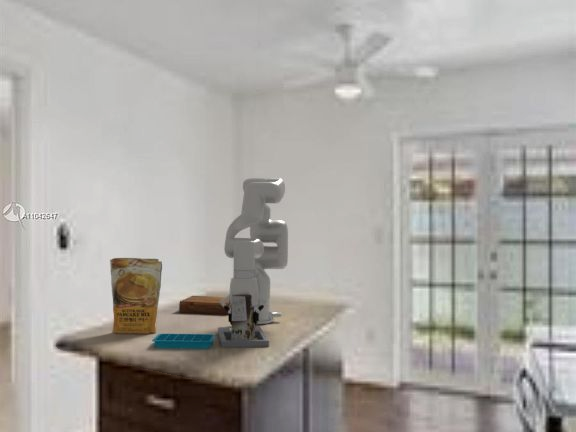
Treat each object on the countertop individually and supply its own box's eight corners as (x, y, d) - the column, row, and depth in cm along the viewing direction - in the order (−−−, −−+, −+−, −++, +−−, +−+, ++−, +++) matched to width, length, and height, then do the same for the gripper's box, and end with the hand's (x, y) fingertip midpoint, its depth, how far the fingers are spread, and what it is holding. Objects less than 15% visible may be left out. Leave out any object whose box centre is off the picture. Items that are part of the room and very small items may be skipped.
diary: (179, 314, 263) (179, 301, 263) (192, 307, 281) (192, 295, 281) (228, 316, 259) (228, 303, 259) (238, 309, 278) (238, 297, 278)
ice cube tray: (211, 350, 196) (211, 341, 195) (151, 349, 196) (151, 340, 195) (215, 342, 207) (215, 334, 207) (158, 341, 207) (159, 333, 207)
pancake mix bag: (111, 330, 224) (112, 257, 224) (161, 330, 224) (162, 257, 224) (106, 334, 217) (107, 258, 217) (158, 334, 217) (159, 259, 217)
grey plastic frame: (259, 331, 225) (259, 325, 225) (268, 346, 201) (268, 340, 201) (217, 332, 222) (218, 326, 222) (222, 347, 198) (222, 341, 198)
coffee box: (248, 342, 203) (249, 296, 203) (230, 341, 204) (231, 295, 204) (255, 336, 212) (255, 292, 211) (238, 335, 213) (238, 291, 213)
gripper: (266, 273, 213) (266, 321, 213) (218, 273, 210) (218, 322, 210) (269, 275, 205) (269, 325, 206) (220, 276, 202) (219, 326, 203)
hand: (243, 323), depth 208 cm, fingers closed on coffee box, 8 cm apart
